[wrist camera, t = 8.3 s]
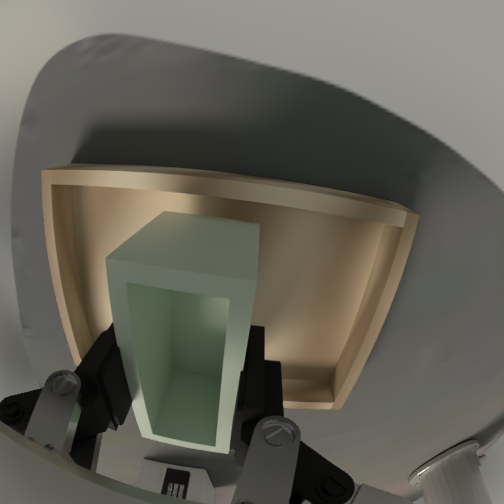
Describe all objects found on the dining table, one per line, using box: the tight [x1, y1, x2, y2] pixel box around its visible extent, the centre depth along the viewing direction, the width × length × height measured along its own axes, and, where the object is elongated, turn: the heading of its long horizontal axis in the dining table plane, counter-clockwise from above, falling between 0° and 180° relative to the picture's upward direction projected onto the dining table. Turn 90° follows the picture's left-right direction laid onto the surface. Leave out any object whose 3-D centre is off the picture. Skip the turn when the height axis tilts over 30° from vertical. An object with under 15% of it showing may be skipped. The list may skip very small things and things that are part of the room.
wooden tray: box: [42, 163, 420, 409], centre depth 14 cm, size 17×12×2 cm
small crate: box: [105, 211, 260, 454], centre depth 11 cm, size 4×9×5 cm, turn 173°
